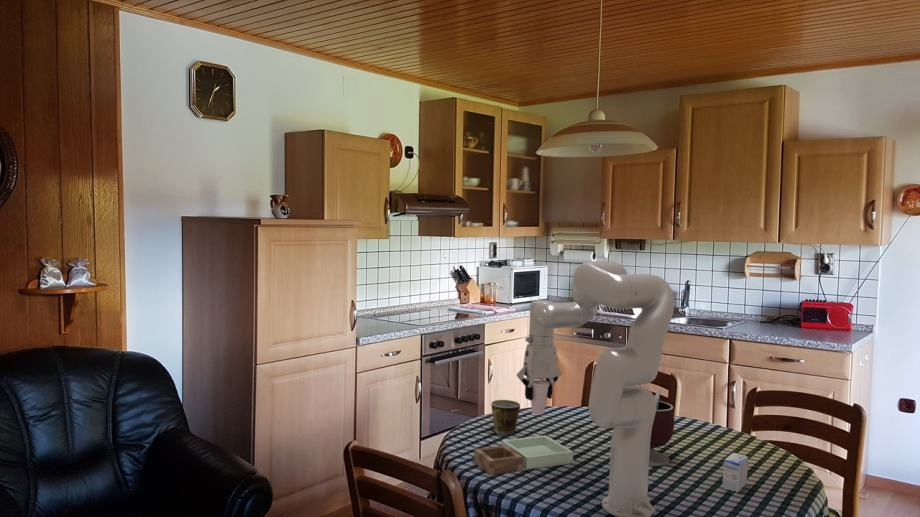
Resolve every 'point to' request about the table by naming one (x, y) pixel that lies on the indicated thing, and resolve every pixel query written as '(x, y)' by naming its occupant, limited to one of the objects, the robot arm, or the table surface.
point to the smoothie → (539, 395)
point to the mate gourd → (661, 431)
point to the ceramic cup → (505, 416)
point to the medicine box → (735, 472)
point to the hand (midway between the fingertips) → (538, 397)
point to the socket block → (498, 460)
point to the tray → (540, 451)
